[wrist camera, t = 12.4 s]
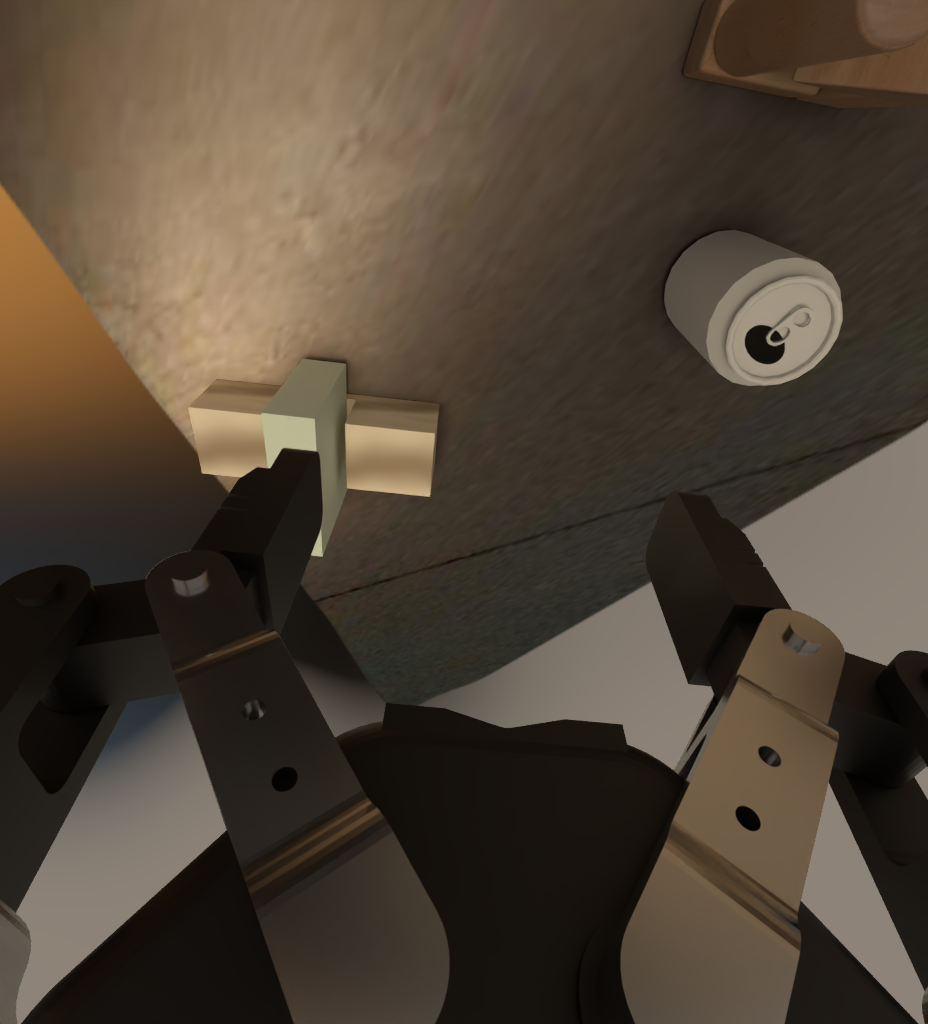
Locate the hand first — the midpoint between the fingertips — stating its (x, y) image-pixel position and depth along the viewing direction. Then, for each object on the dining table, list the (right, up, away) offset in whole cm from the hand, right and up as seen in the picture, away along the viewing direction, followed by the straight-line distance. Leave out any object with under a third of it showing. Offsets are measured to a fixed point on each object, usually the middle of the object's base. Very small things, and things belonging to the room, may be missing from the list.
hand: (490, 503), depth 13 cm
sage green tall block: (-13, +7, +35) cm, 37 cm away
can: (+18, +17, +28) cm, 37 cm away
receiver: (-12, +8, +35) cm, 38 cm away
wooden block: (+18, +27, +20) cm, 39 cm away
